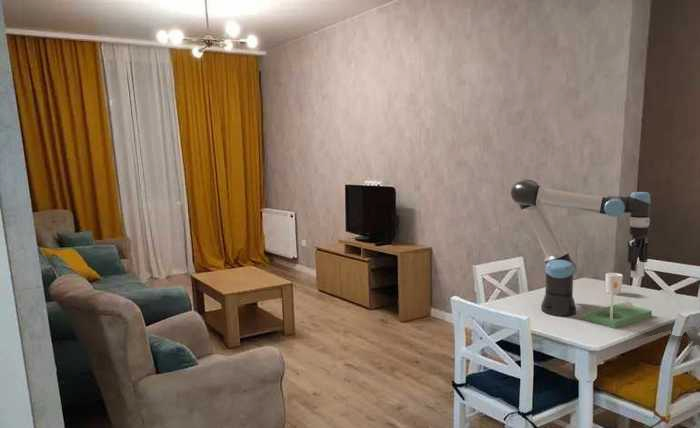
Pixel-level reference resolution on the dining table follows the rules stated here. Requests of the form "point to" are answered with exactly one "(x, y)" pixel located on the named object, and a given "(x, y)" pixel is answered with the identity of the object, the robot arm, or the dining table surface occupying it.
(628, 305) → the ball
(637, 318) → the mat
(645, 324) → the dining table surface
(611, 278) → the white cup
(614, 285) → the flag pin
